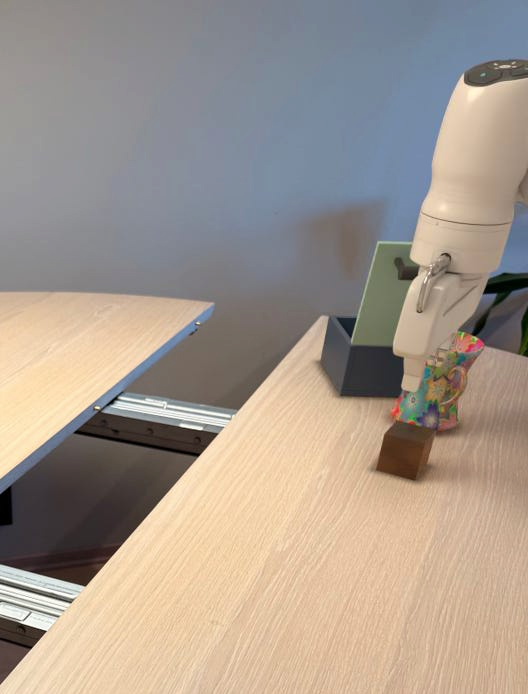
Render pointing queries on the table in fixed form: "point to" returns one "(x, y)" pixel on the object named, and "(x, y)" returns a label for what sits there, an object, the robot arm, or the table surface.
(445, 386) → the mug
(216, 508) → the table surface
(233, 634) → the table surface
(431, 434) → the block
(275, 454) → the table surface
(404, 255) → the lid
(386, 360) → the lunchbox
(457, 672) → the table surface
